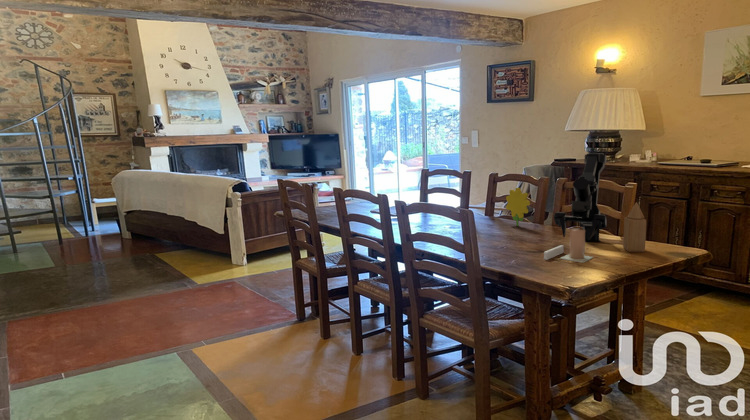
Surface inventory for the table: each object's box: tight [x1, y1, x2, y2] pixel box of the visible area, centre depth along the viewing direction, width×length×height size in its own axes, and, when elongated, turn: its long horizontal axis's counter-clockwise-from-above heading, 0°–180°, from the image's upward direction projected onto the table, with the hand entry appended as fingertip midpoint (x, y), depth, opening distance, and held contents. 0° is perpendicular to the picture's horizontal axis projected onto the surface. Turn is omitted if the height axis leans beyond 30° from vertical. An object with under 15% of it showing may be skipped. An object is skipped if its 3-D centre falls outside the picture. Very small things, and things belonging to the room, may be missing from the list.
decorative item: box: [505, 187, 531, 227], centre depth 252 cm, size 16×1×20 cm, turn 30°
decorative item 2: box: [622, 201, 647, 253], centre depth 196 cm, size 7×7×20 cm
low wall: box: [543, 244, 565, 261], centre depth 193 cm, size 14×1×3 cm, turn 133°
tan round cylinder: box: [568, 227, 586, 259], centre depth 188 cm, size 6×6×11 cm
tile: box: [559, 253, 594, 264], centre depth 189 cm, size 9×9×1 cm
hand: (576, 237), depth 186 cm, fingers open, 9 cm apart
